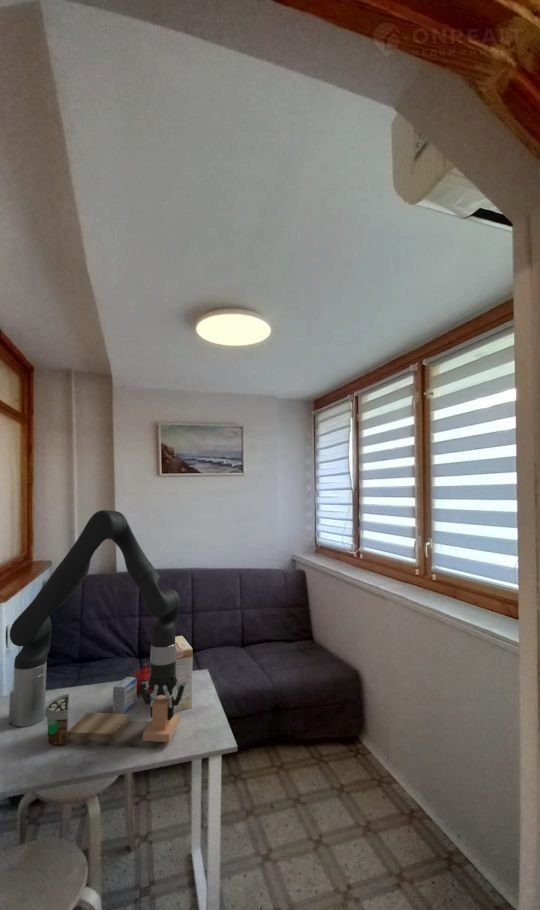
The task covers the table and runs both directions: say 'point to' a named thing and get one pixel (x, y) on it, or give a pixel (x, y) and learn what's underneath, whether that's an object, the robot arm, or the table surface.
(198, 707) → the table surface
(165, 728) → the stub
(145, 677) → the pomegranate
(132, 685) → the medicine box
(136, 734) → the board
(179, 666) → the coffeecake box
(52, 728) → the food container
